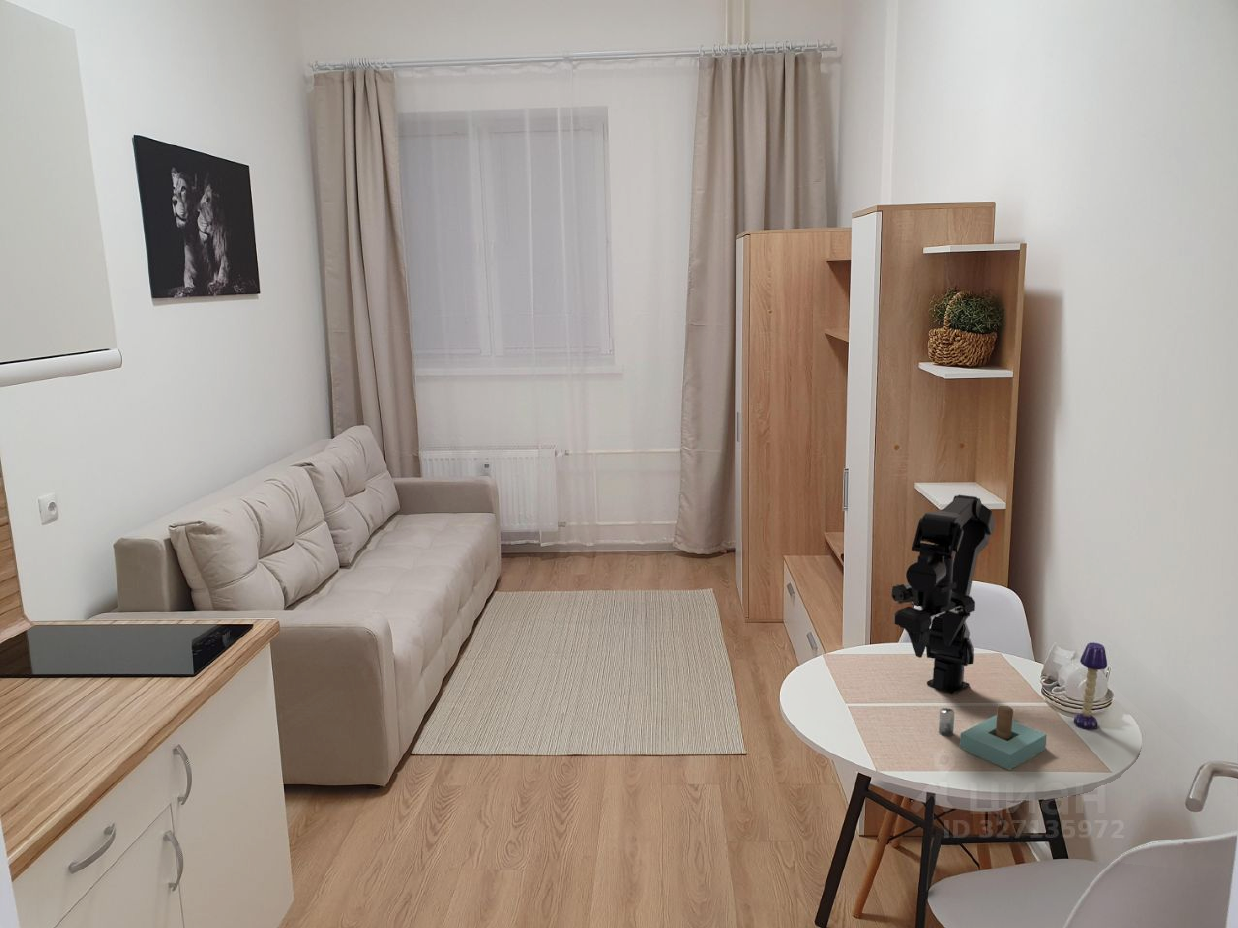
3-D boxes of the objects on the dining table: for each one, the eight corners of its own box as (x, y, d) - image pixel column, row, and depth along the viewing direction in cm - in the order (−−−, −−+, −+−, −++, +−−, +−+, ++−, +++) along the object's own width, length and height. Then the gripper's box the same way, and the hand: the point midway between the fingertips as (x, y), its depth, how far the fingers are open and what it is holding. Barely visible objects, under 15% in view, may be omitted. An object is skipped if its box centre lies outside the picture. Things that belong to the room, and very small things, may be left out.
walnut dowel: (1000, 743, 176) (1002, 704, 174) (1012, 749, 174) (1015, 709, 172) (992, 747, 175) (994, 708, 173) (1004, 753, 172) (1007, 713, 171)
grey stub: (944, 728, 182) (945, 706, 181) (956, 733, 180) (957, 711, 179) (936, 732, 181) (937, 710, 180) (947, 737, 179) (949, 715, 178)
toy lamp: (1099, 721, 184) (1106, 641, 180) (1102, 732, 180) (1110, 650, 176) (1072, 717, 185) (1079, 638, 182) (1075, 728, 181) (1082, 647, 178)
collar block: (996, 728, 182) (997, 714, 181) (1045, 748, 174) (1046, 734, 173) (959, 747, 175) (960, 733, 174) (1009, 769, 167) (1010, 754, 166)
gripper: (931, 557, 196) (927, 628, 199) (873, 576, 185) (870, 650, 189) (978, 571, 187) (973, 644, 191) (920, 591, 177) (916, 668, 180)
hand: (932, 650), depth 188 cm, fingers open, 9 cm apart
